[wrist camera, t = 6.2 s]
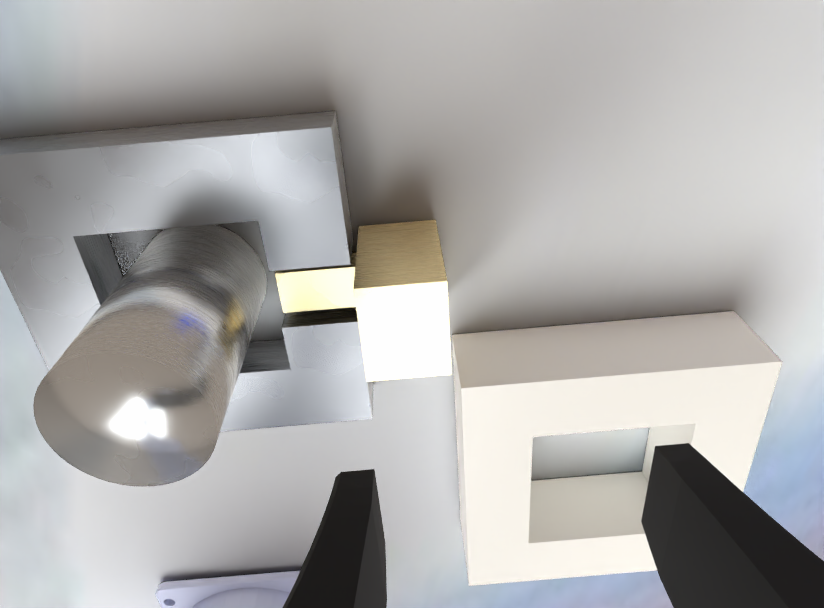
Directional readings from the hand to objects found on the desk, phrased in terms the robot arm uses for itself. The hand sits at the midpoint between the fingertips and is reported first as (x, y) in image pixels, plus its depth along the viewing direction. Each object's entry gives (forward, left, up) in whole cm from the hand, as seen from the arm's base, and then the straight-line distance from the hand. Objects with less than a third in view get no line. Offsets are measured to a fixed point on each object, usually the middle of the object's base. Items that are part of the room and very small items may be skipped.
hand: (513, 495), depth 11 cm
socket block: (0, +8, -10) cm, 13 cm away
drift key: (0, +3, -10) cm, 10 cm away
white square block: (-8, -5, -10) cm, 14 cm away
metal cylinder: (0, +8, -10) cm, 13 cm away
